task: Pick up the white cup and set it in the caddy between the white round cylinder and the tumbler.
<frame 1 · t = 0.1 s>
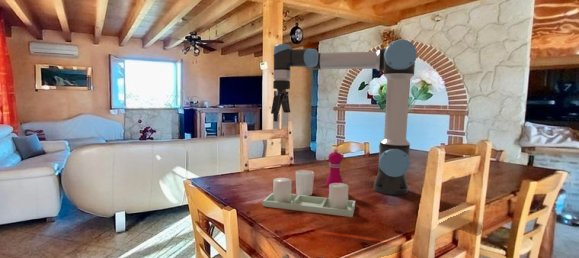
hand: (280, 127, 141), 28 cm above the table, tool pointing down, fingers open, 13 cm apart
white round cylinder: (337, 209, 115), point 1 cm above the table, touching caddy
white cup: (304, 195, 134), on the table
caddy: (309, 208, 118), on the table
pepper mill: (334, 194, 137), on the table
tumbler far: (282, 202, 121), point 1 cm above the table, touching caddy
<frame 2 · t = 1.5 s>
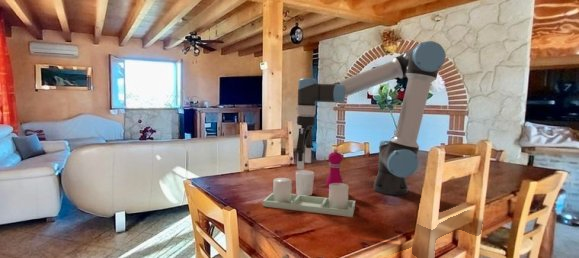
hand: (304, 165, 133), 13 cm above the table, tool pointing down, fingers open, 13 cm apart
nothing on the table moved.
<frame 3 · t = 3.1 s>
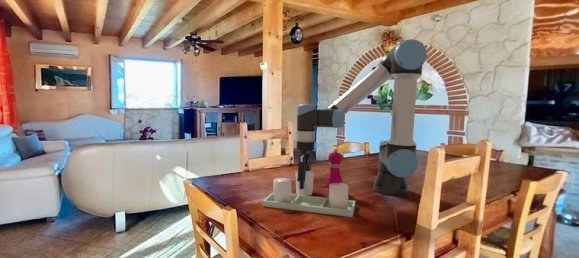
hand: (304, 193, 134), 1 cm above the table, tool pointing down, fingers closed on white cup, 8 cm apart
white cup: (304, 195, 134), on the table, touching gripper
everything else where it was.
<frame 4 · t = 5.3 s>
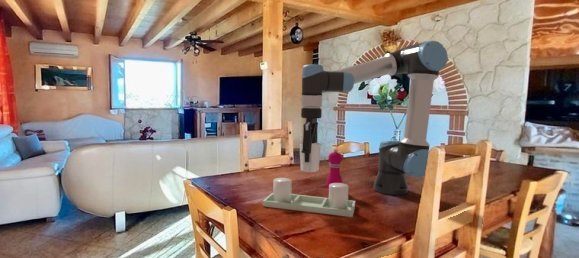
hand: (309, 168, 117), 15 cm above the table, tool pointing down, fingers closed on white cup, 8 cm apart
white cup: (309, 170, 117), point 14 cm above the table, touching gripper
everything else where it was.
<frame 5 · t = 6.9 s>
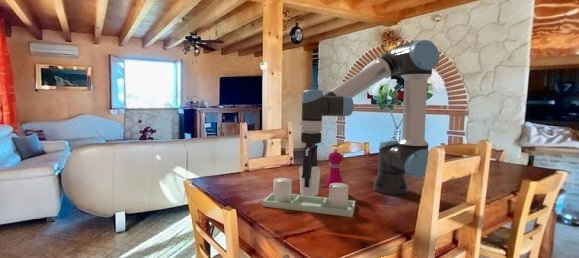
hand: (309, 192, 118), 6 cm above the table, tool pointing down, fingers closed on white cup, 8 cm apart
white cup: (309, 194, 118), point 5 cm above the table, touching gripper
everything else where it was.
when the fingers open (4 cm above the table, at t = 7.8 s): white cup drops 2 cm, resting on caddy.
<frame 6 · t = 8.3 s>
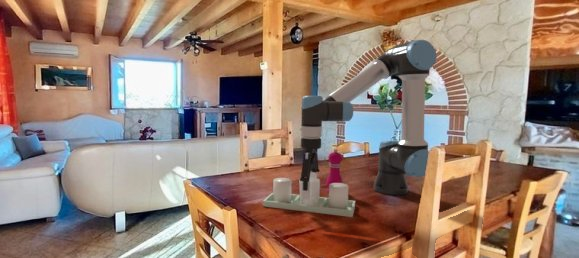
hand: (309, 193, 118), 6 cm above the table, tool pointing down, fingers open, 13 cm apart
white cup: (309, 206, 118), point 1 cm above the table, touching caddy
everything else where it was.
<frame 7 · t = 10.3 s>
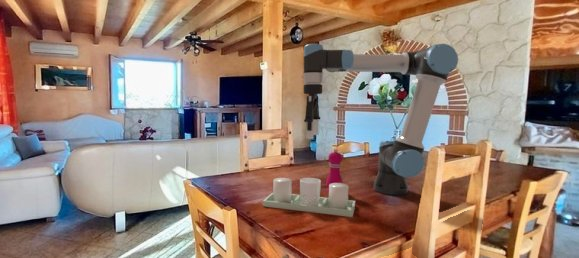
hand: (312, 136, 127), 26 cm above the table, tool pointing down, fingers open, 13 cm apart
nothing on the table moved.
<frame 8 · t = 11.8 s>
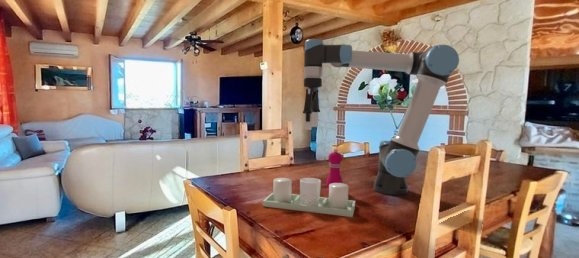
hand: (311, 128, 133), 29 cm above the table, tool pointing down, fingers open, 13 cm apart
nothing on the table moved.
at the end: white cup inside the target area on the caddy (0.3 cm from its centre), point 0.6 cm above the caddy's base; white cup tilted 0°; the gripper is holding nothing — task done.
